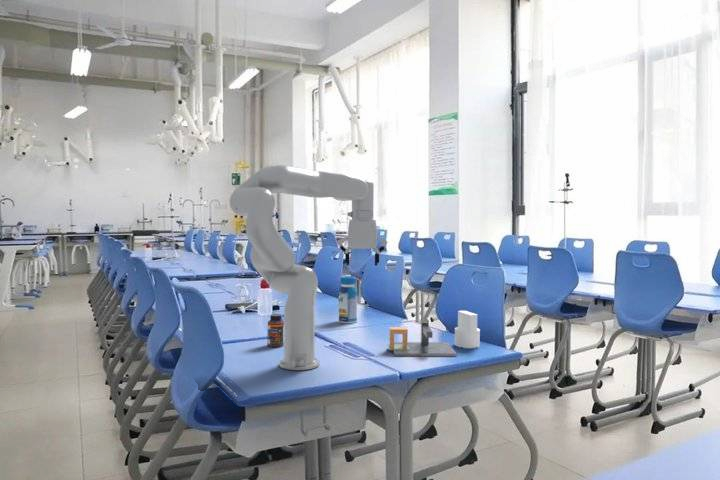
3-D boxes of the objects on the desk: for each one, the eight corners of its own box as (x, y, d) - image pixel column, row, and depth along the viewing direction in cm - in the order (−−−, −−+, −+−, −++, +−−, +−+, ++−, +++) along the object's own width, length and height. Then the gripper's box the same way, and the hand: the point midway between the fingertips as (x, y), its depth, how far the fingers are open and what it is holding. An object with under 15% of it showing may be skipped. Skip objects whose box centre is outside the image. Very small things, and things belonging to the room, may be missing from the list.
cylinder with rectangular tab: (450, 343, 205) (450, 311, 205) (471, 341, 208) (471, 310, 208) (462, 349, 197) (463, 315, 196) (484, 347, 200) (485, 314, 199)
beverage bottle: (357, 323, 240) (357, 278, 240) (337, 323, 241) (337, 278, 240) (357, 320, 249) (357, 276, 248) (338, 319, 249) (339, 275, 248)
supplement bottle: (268, 348, 197) (268, 316, 196) (266, 344, 202) (266, 313, 202) (285, 347, 198) (285, 315, 198) (282, 343, 204) (282, 312, 204)
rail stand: (456, 356, 186) (456, 330, 186) (390, 356, 186) (390, 329, 186) (448, 345, 202) (448, 320, 202) (386, 345, 202) (387, 320, 202)
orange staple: (407, 348, 192) (407, 329, 192) (390, 348, 192) (390, 329, 192) (406, 345, 196) (406, 327, 196) (389, 345, 196) (389, 327, 196)
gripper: (337, 215, 187) (336, 266, 188) (388, 216, 187) (387, 266, 188) (337, 215, 194) (337, 264, 195) (386, 216, 195) (386, 264, 195)
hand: (362, 265), depth 191 cm, fingers open, 9 cm apart
